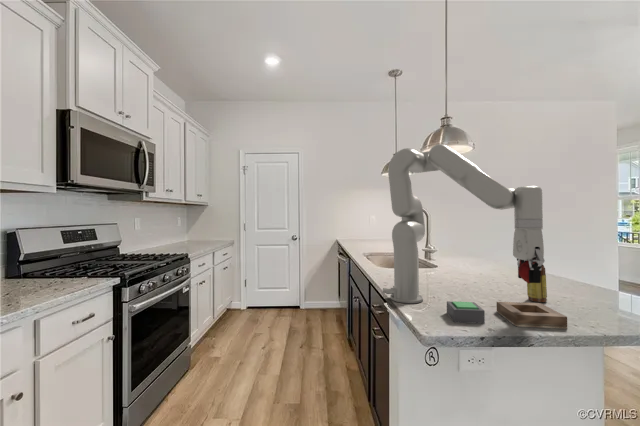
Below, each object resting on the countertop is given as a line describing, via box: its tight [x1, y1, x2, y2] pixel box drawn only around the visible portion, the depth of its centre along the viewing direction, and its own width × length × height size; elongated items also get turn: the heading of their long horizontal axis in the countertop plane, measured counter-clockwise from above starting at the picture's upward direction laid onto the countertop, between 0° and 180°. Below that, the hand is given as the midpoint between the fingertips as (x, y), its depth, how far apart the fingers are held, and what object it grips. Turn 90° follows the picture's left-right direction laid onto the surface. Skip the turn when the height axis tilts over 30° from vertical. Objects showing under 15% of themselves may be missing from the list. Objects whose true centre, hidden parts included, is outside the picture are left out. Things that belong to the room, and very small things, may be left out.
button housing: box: [446, 300, 486, 324], centre depth 100 cm, size 9×9×4 cm
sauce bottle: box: [526, 259, 548, 303], centre depth 119 cm, size 6×6×20 cm
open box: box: [496, 301, 568, 330], centre depth 99 cm, size 14×14×4 cm
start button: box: [451, 300, 478, 309], centre depth 100 cm, size 6×6×3 cm
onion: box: [517, 261, 534, 284], centre depth 99 cm, size 6×6×8 cm
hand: (529, 279), depth 99 cm, fingers closed on onion, 5 cm apart
